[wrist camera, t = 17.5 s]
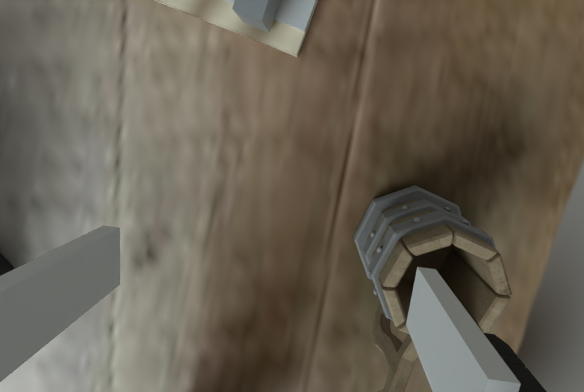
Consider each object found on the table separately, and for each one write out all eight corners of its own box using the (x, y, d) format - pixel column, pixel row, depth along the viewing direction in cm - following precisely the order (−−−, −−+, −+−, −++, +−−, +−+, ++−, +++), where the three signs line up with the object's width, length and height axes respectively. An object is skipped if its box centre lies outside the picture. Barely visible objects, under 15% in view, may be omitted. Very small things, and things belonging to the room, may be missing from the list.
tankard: (386, 171, 42) (419, 200, 28) (481, 215, 43) (564, 266, 28) (316, 307, 47) (312, 392, 32) (402, 346, 47) (438, 448, 33)
